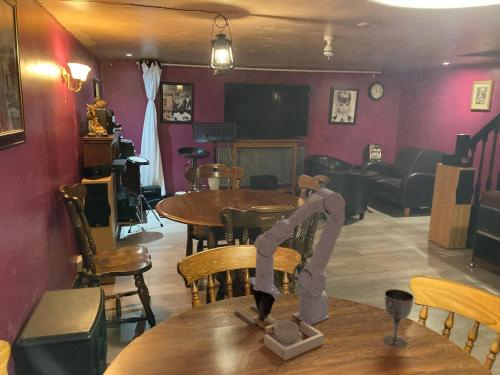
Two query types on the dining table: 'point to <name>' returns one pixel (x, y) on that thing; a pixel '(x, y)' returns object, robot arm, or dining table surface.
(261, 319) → the pushrod
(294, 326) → the teacup
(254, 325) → the rail
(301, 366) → the dining table surface
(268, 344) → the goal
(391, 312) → the wine glass
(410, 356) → the dining table surface
